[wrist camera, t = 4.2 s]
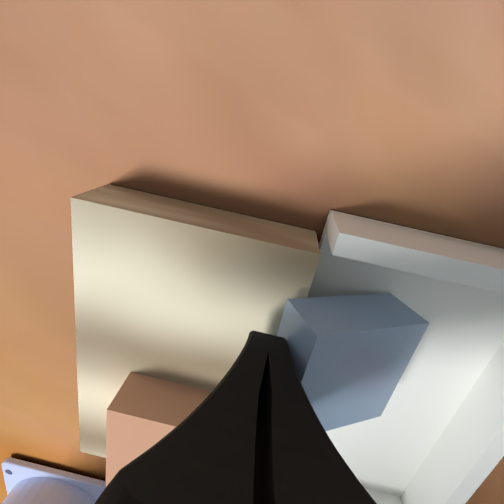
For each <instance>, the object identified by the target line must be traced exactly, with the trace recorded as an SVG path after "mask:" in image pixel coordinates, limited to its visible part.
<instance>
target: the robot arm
mask: <svg viewBox="0 0 504 504" xmlns="http://www.w3.org/2000/svg"><path fill="white" fill-rule="evenodd" d="M2 470H3V475H4V480H5V485H6V490H7V497H6V498H5V499H4V501H3V502H2V503H1V504H377V503H376V502H375V501H374V500H373V498H372V497H371V496H370V495H369V493H368V492H367V491H366V489H365V488H364V487H363V486H362V484H361V483H360V482H359V480H358V479H357V478H356V476H355V475H354V473H353V472H352V471H351V469H350V468H349V466H348V465H347V464H346V462H345V461H344V459H343V458H342V456H341V455H340V454H339V452H338V451H337V449H336V447H335V446H334V444H333V443H332V441H331V439H330V438H329V436H328V435H327V433H326V431H325V429H324V428H323V426H322V424H321V422H320V421H319V419H318V417H317V415H316V413H315V411H314V409H313V407H312V405H311V403H310V401H309V399H308V397H307V395H306V393H305V391H304V388H303V386H302V384H301V381H300V379H299V376H298V374H297V371H296V369H295V366H294V363H293V360H292V357H291V354H290V351H289V348H288V344H287V341H286V339H285V338H283V337H279V336H275V335H271V334H266V333H262V332H258V331H254V330H253V331H251V332H249V336H248V339H247V341H246V343H245V345H244V347H243V349H242V351H241V353H240V354H239V356H238V357H237V359H236V361H235V362H234V364H233V365H232V367H231V368H230V369H229V371H228V372H227V373H226V375H225V376H224V377H223V379H222V380H221V381H220V382H219V384H218V385H217V386H216V387H215V388H214V390H213V391H212V392H211V393H210V394H209V395H208V396H207V397H206V399H205V400H204V401H203V402H202V403H201V404H200V405H199V406H198V407H197V408H196V409H195V410H194V411H193V412H192V413H191V414H190V415H189V416H188V417H187V418H186V419H184V420H183V421H182V422H181V423H180V424H179V425H178V426H177V427H175V428H174V429H173V430H172V431H171V432H169V433H168V434H167V435H166V436H165V437H163V438H162V439H161V440H160V441H159V442H157V443H156V444H155V445H153V446H152V447H151V448H150V449H148V450H147V451H145V452H144V453H143V454H141V455H140V456H138V457H137V458H136V459H134V460H133V461H131V462H130V463H128V464H127V465H126V466H124V467H123V468H121V469H120V470H119V471H118V473H117V474H116V475H115V476H114V478H113V479H112V480H111V481H110V483H109V484H108V485H107V487H106V481H103V480H99V479H95V478H91V477H87V476H83V475H79V474H75V473H71V472H67V471H63V470H59V469H55V468H51V467H47V466H43V465H39V464H35V463H31V462H27V461H23V460H19V459H15V458H11V457H9V458H6V459H5V460H4V462H3V463H2Z"/></svg>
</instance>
